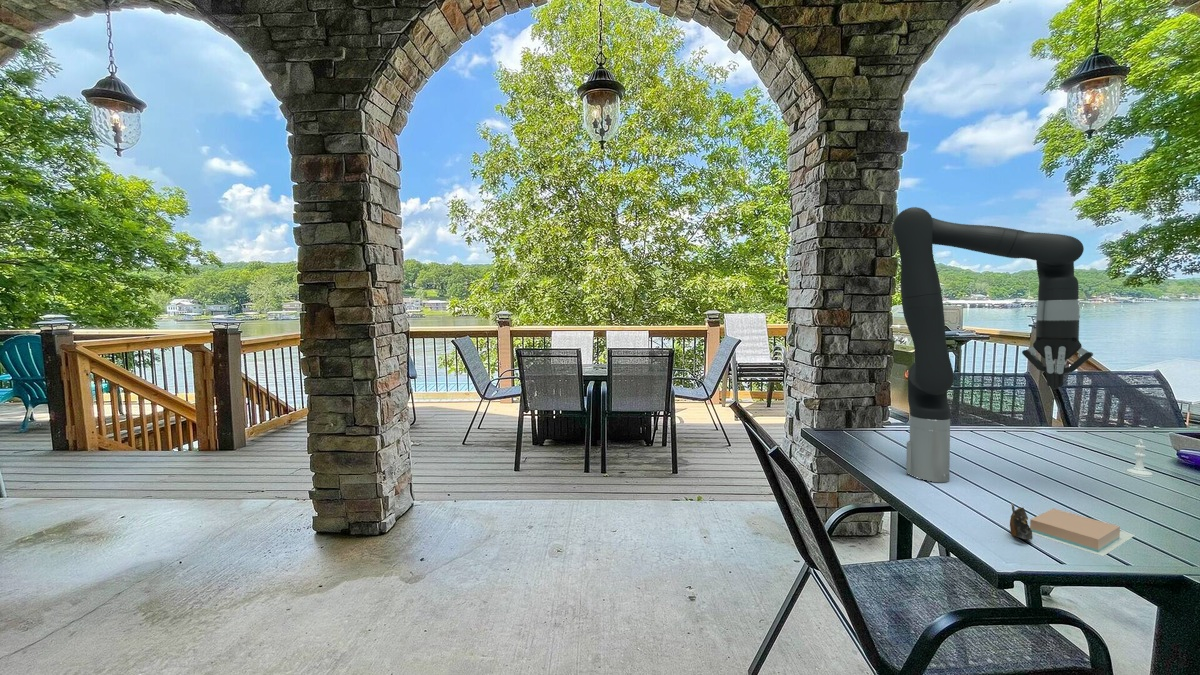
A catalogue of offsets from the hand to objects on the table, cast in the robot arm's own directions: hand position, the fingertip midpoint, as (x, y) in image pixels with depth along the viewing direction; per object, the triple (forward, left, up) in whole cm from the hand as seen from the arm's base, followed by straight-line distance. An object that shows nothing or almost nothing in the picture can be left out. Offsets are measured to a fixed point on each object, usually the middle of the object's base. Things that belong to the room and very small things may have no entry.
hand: (1055, 388), depth 114 cm
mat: (+7, -24, -27) cm, 37 cm away
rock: (+1, -37, -27) cm, 46 cm away
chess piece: (+12, +38, -27) cm, 48 cm away
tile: (+8, -20, -25) cm, 33 cm away
